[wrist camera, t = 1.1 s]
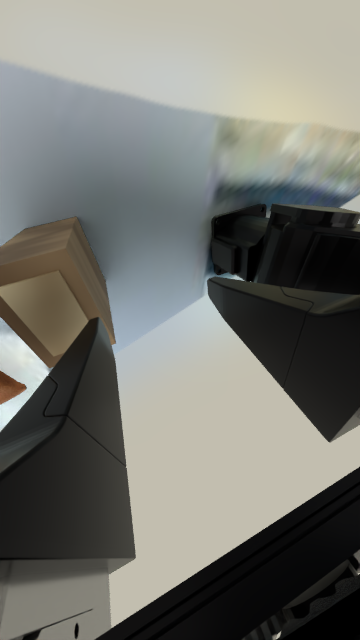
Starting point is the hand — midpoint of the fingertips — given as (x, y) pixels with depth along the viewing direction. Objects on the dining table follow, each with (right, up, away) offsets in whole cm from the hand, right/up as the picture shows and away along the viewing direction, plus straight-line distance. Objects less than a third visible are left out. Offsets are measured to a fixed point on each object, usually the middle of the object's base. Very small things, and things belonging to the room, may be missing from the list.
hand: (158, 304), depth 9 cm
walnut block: (-9, +5, +8) cm, 13 cm away
